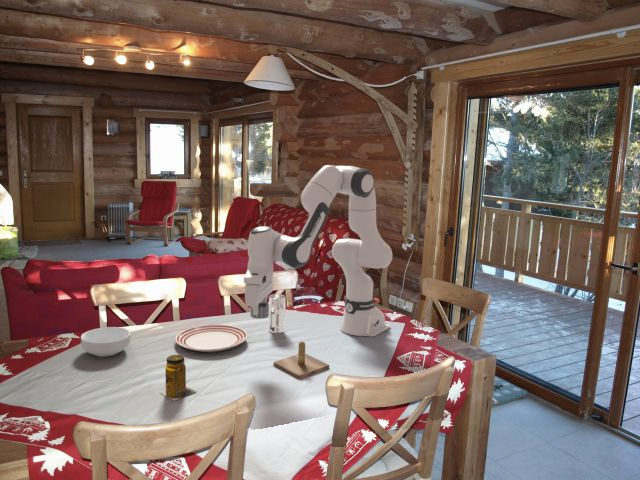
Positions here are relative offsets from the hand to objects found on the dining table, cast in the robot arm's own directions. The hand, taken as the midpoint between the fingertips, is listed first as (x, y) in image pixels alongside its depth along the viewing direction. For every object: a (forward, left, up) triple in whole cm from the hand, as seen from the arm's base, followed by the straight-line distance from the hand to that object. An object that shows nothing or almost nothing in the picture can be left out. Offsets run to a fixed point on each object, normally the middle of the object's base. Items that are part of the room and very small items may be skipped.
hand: (259, 311), depth 191 cm
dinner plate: (+4, -25, -19) cm, 32 cm away
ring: (0, 0, -2) cm, 2 cm away
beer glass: (-24, -20, -19) cm, 37 cm away
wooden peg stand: (-9, +13, -19) cm, 25 cm away
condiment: (+34, +4, -19) cm, 39 cm away
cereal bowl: (+39, -40, -19) cm, 59 cm away
